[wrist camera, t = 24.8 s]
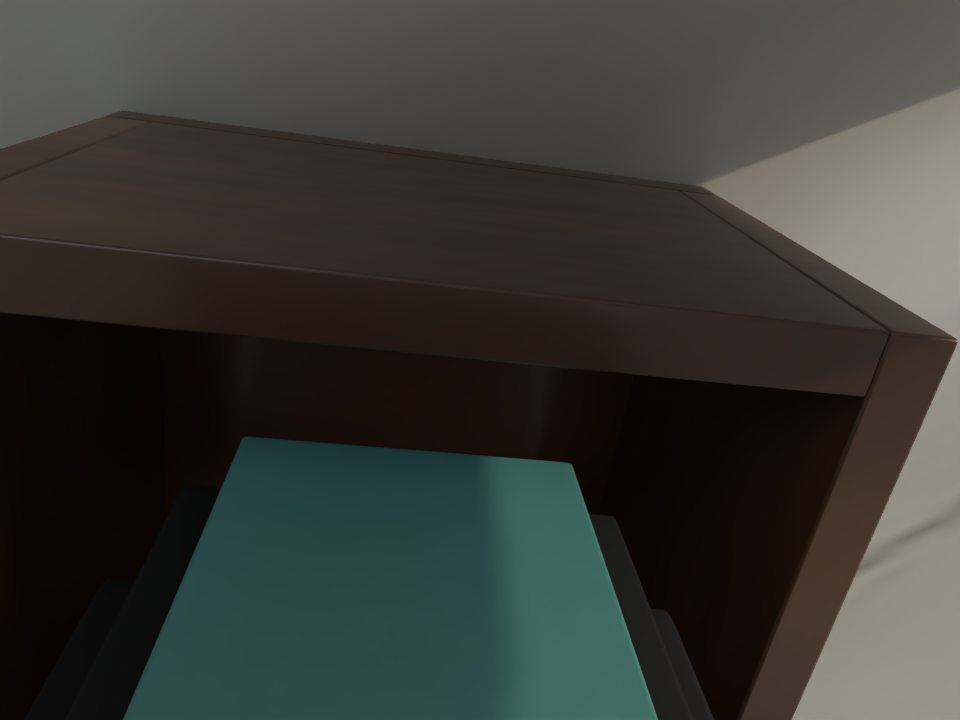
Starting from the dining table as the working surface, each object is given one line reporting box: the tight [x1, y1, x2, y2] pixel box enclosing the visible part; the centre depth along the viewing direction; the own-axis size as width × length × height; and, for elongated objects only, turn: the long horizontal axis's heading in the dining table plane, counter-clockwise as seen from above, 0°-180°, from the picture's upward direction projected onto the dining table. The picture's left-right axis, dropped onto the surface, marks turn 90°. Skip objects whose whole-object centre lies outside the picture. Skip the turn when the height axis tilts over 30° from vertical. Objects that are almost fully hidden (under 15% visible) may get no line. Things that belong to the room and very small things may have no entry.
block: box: [123, 436, 658, 720], centre depth 9 cm, size 4×4×4 cm
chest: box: [0, 111, 957, 720], centre depth 15 cm, size 16×13×9 cm
